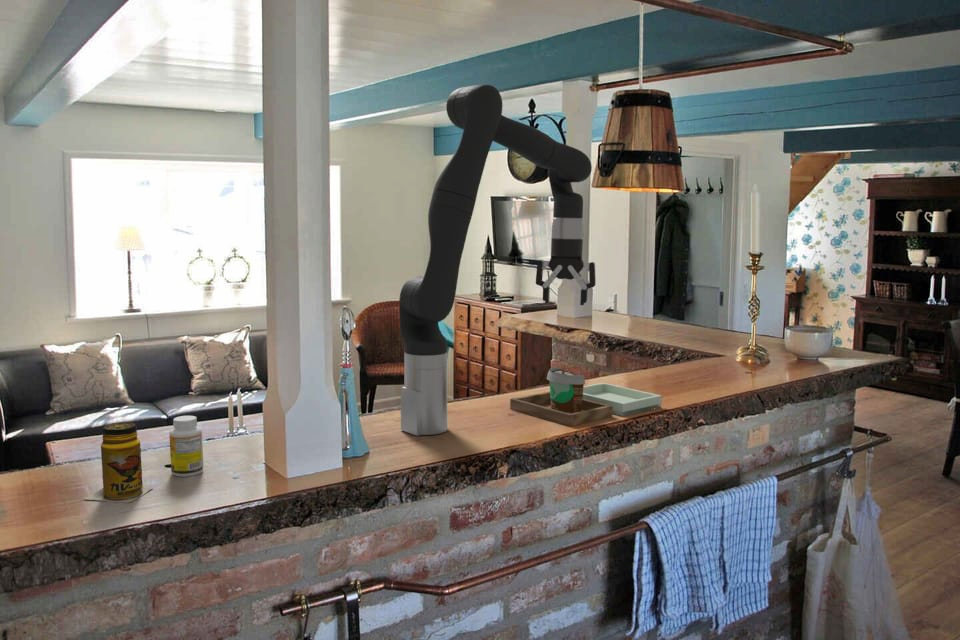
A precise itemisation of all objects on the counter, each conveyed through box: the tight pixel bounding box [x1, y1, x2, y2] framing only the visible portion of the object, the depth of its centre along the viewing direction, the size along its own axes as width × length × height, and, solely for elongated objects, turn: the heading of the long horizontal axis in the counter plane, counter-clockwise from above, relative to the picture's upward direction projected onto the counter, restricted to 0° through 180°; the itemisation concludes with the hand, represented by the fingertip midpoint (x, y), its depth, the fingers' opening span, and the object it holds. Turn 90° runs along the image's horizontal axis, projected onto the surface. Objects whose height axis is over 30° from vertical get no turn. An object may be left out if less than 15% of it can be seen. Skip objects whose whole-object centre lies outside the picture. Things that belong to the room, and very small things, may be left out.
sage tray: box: [583, 382, 662, 417], centre depth 205 cm, size 14×19×3 cm
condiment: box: [83, 421, 154, 504], centre depth 139 cm, size 7×8×12 cm
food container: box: [546, 365, 586, 414], centre depth 196 cm, size 12×6×10 cm, turn 21°
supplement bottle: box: [169, 415, 204, 478], centre depth 150 cm, size 6×6×10 cm
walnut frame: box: [509, 391, 613, 427], centre depth 196 cm, size 14×20×2 cm
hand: (564, 304), depth 201 cm, fingers open, 8 cm apart
